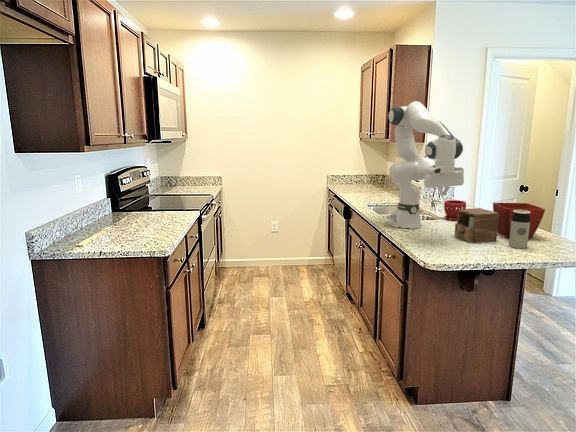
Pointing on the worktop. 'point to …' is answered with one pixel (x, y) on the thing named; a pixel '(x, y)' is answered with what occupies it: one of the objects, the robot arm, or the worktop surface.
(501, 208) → the plant pot
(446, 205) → the plant pot
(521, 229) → the travel mug
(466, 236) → the wooden drawer
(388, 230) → the worktop surface
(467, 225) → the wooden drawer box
